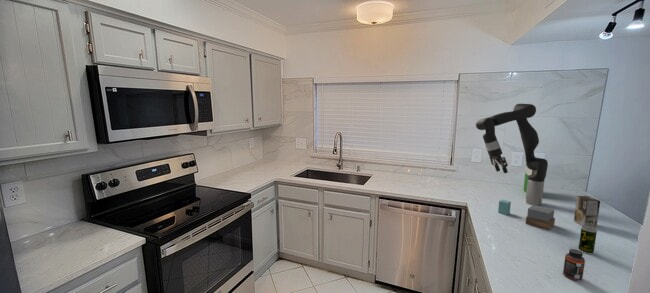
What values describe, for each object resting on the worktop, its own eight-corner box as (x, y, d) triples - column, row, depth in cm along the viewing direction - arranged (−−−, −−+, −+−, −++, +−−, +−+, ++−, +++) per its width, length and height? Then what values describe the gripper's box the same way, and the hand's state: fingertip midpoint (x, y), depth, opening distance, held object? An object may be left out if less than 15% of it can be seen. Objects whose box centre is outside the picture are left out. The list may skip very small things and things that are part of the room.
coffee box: (597, 228, 154) (601, 201, 152) (584, 227, 156) (587, 200, 153) (585, 221, 163) (589, 195, 161) (573, 220, 164) (576, 195, 162)
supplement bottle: (582, 283, 107) (586, 256, 105) (562, 277, 111) (566, 251, 109) (582, 276, 111) (585, 250, 109) (562, 270, 115) (566, 245, 113)
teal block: (501, 210, 181) (502, 199, 179) (509, 213, 177) (510, 201, 175) (498, 212, 178) (499, 201, 176) (506, 215, 174) (507, 203, 172)
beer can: (577, 247, 134) (581, 224, 132) (593, 250, 130) (596, 227, 129) (578, 251, 130) (581, 228, 128) (594, 255, 126) (597, 231, 125)
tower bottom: (531, 219, 167) (532, 212, 167) (554, 225, 159) (555, 217, 158) (525, 224, 161) (526, 216, 160) (548, 231, 152) (549, 222, 151)
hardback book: (541, 197, 205) (544, 167, 202) (529, 196, 208) (532, 166, 205) (534, 191, 221) (537, 162, 218) (523, 190, 224) (526, 161, 221)
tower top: (532, 212, 166) (533, 204, 165) (553, 217, 158) (554, 209, 157) (527, 216, 160) (528, 208, 159) (548, 222, 152) (549, 213, 151)
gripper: (505, 146, 165) (514, 171, 165) (493, 145, 179) (501, 168, 179) (493, 150, 166) (502, 175, 166) (482, 149, 180) (490, 172, 180)
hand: (502, 172), depth 172 cm, fingers open, 8 cm apart
